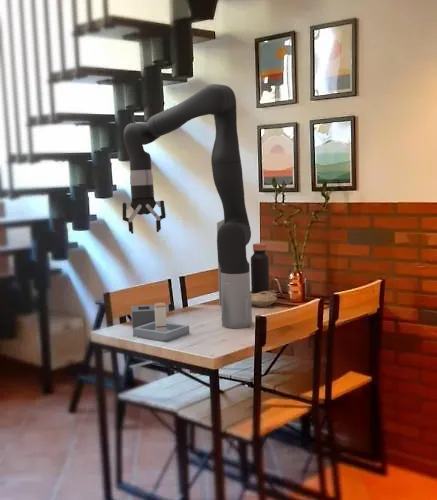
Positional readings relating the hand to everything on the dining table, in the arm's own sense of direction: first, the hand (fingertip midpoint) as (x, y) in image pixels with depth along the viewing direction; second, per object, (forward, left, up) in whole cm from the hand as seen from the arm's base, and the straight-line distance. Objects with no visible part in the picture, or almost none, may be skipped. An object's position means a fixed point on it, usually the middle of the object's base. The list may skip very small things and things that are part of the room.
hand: (145, 232), depth 232 cm
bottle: (-34, -36, -29) cm, 57 cm away
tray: (-11, +23, -29) cm, 39 cm away
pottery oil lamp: (-35, -19, -29) cm, 50 cm away
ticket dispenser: (-2, +11, -29) cm, 31 cm away
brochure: (-24, -26, -29) cm, 46 cm away
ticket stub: (-11, +23, -28) cm, 38 cm away
